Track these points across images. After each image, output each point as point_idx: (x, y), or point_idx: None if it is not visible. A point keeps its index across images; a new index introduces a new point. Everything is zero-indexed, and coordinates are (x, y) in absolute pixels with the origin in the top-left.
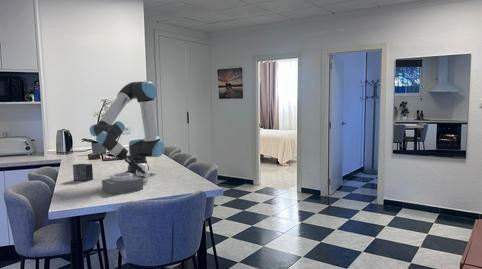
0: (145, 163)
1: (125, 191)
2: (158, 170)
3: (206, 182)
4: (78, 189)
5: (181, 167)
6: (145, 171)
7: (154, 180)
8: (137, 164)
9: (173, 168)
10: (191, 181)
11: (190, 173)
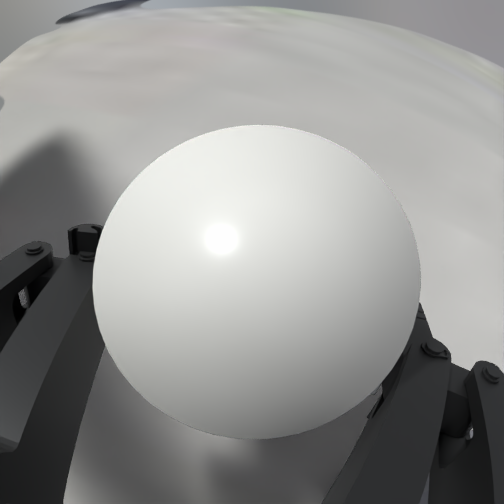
0: (208, 145)
1: None
2: (13, 108)
3: (489, 63)
4: None
5: (72, 28)
6: None
7: None
8: (193, 373)
9: (52, 51)
10: (453, 75)
11: (234, 9)
